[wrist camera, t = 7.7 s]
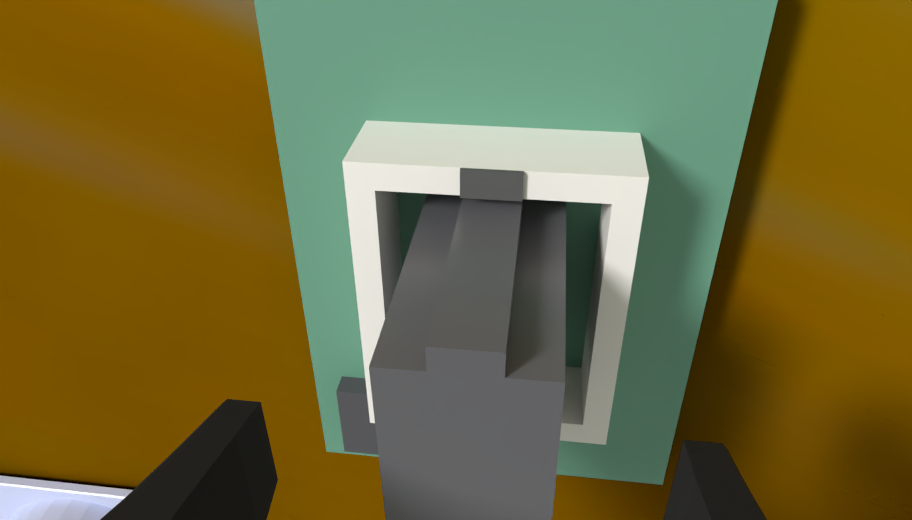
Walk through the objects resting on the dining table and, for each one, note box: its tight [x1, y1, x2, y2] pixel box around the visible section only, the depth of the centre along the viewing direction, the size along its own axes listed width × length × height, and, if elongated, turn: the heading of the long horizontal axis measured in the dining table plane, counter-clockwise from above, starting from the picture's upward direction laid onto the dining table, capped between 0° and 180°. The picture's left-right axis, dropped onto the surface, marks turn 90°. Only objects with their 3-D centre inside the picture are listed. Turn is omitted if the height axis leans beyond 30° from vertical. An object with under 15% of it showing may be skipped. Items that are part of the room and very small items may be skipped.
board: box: [254, 0, 778, 485], centre depth 17 cm, size 14×10×3 cm
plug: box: [369, 194, 566, 520], centre depth 15 cm, size 8×3×6 cm, turn 1°
